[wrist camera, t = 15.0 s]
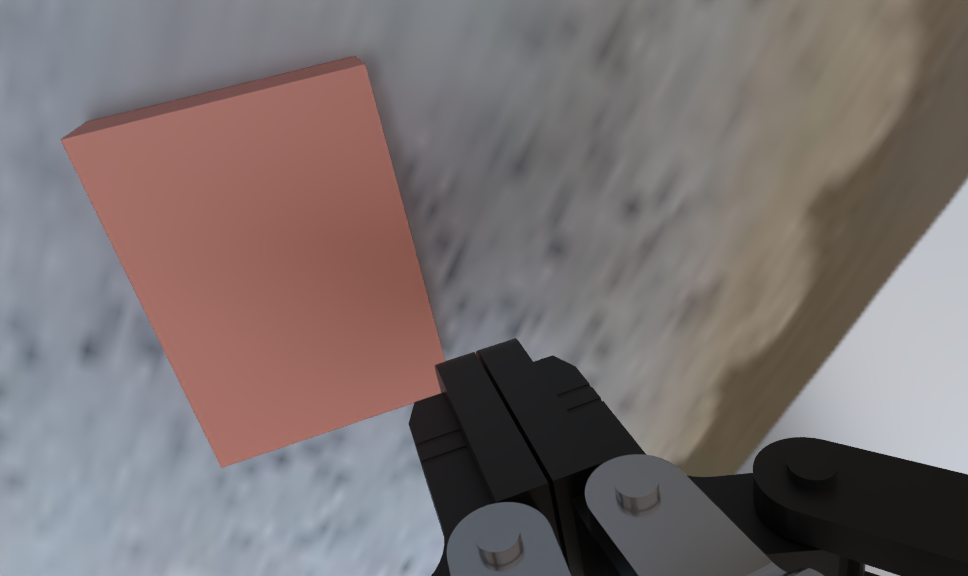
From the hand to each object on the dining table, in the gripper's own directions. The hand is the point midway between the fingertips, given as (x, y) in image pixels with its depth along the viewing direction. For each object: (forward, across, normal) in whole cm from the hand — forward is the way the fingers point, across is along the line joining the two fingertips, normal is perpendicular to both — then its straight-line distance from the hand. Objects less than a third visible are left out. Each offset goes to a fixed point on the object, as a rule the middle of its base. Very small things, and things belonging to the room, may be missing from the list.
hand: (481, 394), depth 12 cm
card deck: (+7, 0, -1) cm, 7 cm away
